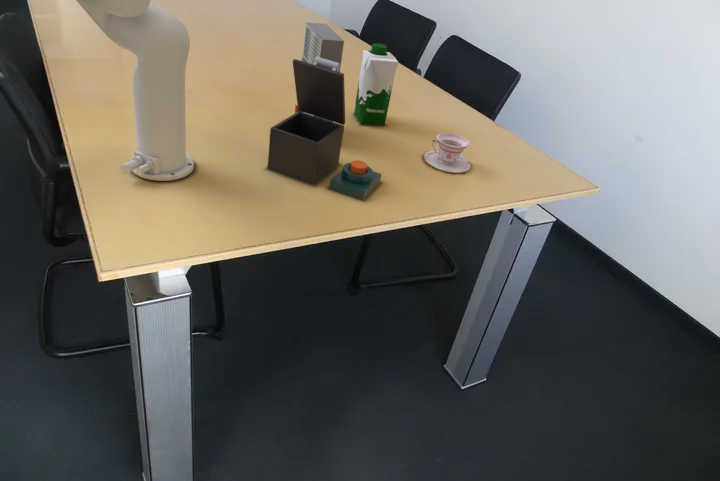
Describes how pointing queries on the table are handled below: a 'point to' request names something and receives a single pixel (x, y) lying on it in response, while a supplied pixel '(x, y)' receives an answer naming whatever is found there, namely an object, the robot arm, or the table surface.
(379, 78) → the milk carton
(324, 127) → the open dark grey box
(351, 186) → the control block
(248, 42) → the table surface
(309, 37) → the ribbed grey cuboid
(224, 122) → the table surface
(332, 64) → the lid
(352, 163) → the button
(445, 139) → the teacup
